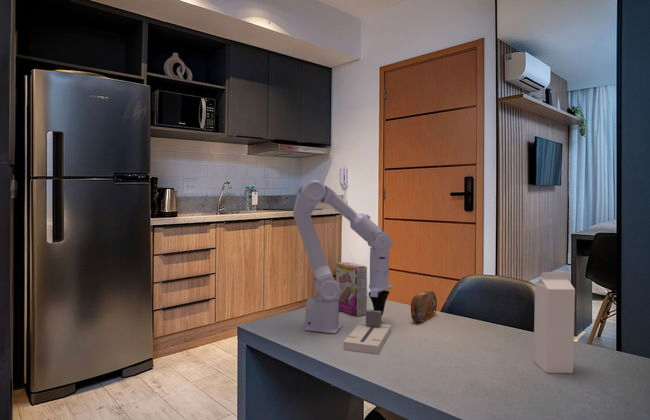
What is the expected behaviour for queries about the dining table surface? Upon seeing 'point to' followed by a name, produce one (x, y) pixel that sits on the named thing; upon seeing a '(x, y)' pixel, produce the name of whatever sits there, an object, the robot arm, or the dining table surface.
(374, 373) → the dining table surface
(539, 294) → the milk
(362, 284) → the candy bar box
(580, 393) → the dining table surface
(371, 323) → the block
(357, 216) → the robot arm
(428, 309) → the tin
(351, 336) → the console
